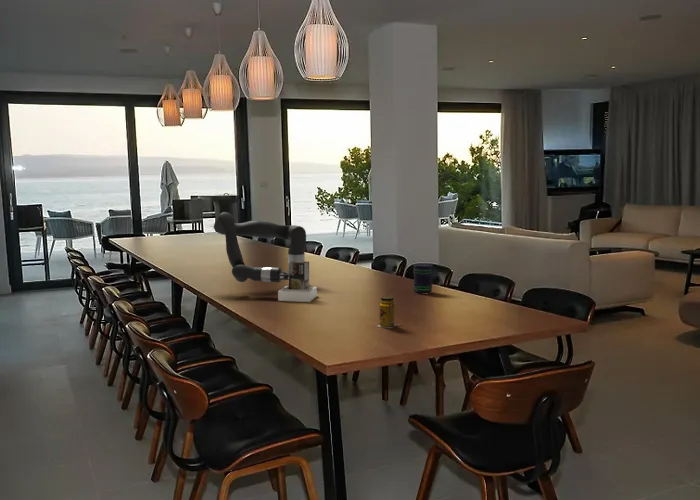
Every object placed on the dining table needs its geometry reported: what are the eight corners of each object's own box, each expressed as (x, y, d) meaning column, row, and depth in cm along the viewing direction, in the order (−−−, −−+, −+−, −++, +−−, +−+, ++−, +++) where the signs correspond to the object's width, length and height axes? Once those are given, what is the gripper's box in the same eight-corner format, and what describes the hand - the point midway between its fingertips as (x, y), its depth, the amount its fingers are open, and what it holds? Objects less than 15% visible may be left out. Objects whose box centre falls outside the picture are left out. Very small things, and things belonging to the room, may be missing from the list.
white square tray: (286, 295, 339) (286, 285, 339) (316, 296, 337) (316, 286, 336) (278, 300, 324) (278, 291, 323) (309, 301, 321) (309, 292, 321)
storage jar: (434, 292, 351) (434, 264, 349) (428, 295, 342) (429, 266, 340) (416, 290, 355) (417, 263, 353) (410, 293, 346) (410, 265, 344)
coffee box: (309, 292, 334) (309, 261, 332) (304, 295, 328) (304, 263, 326) (293, 291, 337) (293, 260, 335) (287, 293, 331) (288, 262, 329)
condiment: (375, 326, 270) (375, 297, 269) (387, 322, 277) (387, 294, 275) (389, 329, 266) (389, 299, 264) (401, 325, 272) (402, 296, 271)
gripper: (267, 269, 326) (299, 270, 324) (275, 265, 340) (306, 266, 338) (267, 284, 327) (299, 285, 325) (275, 279, 341) (306, 281, 339)
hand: (303, 275), depth 331 cm, fingers closed on coffee box, 7 cm apart
